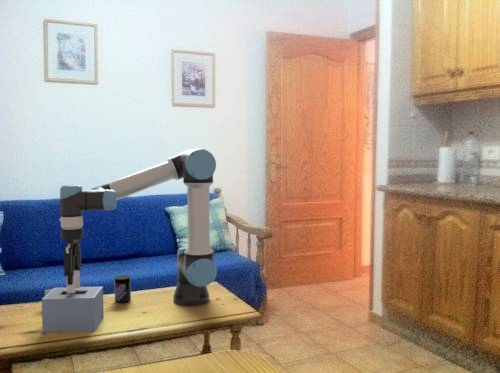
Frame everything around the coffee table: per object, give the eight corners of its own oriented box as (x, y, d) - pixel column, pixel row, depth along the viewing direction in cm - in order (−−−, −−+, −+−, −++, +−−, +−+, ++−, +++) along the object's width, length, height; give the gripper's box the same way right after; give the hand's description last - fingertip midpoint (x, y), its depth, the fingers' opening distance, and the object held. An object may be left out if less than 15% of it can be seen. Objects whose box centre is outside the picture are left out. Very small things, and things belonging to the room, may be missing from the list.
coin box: (103, 317, 182) (102, 286, 181) (95, 330, 168) (94, 297, 167) (55, 318, 180) (54, 287, 179) (42, 332, 166) (41, 299, 165)
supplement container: (112, 300, 202) (112, 276, 201) (127, 298, 206) (127, 274, 205) (117, 305, 196) (117, 280, 195) (133, 302, 200) (132, 277, 199)
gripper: (68, 223, 180) (70, 283, 182) (52, 232, 162) (54, 298, 163) (88, 223, 181) (90, 283, 183) (75, 231, 162) (77, 298, 164)
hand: (73, 290), depth 173 cm, fingers open, 6 cm apart
